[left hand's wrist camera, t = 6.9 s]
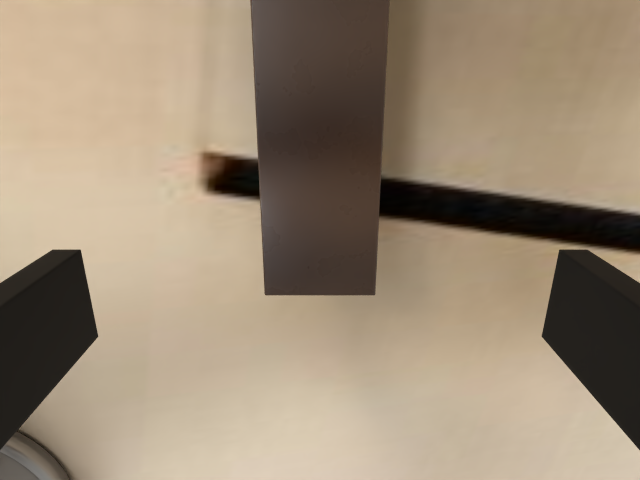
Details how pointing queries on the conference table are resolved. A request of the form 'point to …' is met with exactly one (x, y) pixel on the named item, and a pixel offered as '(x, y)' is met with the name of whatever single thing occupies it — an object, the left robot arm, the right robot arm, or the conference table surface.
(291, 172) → the beam
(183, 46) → the conference table surface
